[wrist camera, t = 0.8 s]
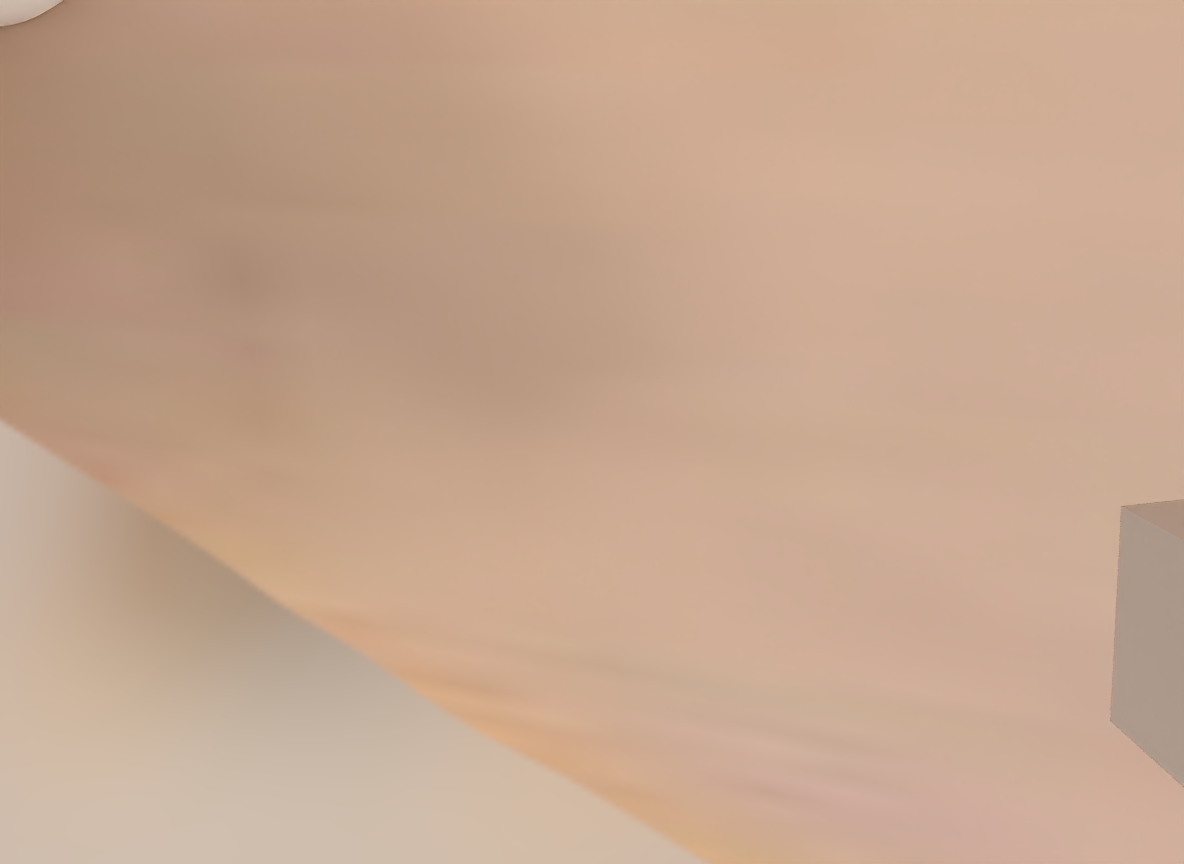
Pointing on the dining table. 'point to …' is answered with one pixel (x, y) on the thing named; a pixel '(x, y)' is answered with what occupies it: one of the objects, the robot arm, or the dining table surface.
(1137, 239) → the dining table surface
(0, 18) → the milk bottle
